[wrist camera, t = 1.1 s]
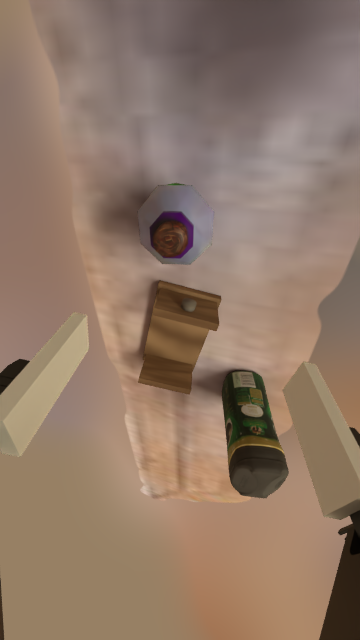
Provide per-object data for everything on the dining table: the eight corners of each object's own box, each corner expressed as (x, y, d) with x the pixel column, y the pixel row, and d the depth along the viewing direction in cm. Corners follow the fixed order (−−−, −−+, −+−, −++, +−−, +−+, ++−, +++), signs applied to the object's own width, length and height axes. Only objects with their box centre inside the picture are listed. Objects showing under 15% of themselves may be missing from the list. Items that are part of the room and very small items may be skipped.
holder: (160, 277, 35) (151, 300, 29) (221, 294, 36) (225, 319, 30) (143, 356, 45) (134, 385, 39) (192, 368, 46) (190, 398, 40)
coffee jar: (255, 401, 50) (278, 506, 34) (219, 397, 50) (226, 499, 35) (267, 370, 44) (301, 478, 29) (226, 366, 44) (238, 470, 29)
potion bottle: (200, 165, 27) (198, 164, 17) (221, 235, 31) (230, 267, 21) (137, 196, 29) (102, 211, 19) (165, 258, 33) (149, 296, 23)
